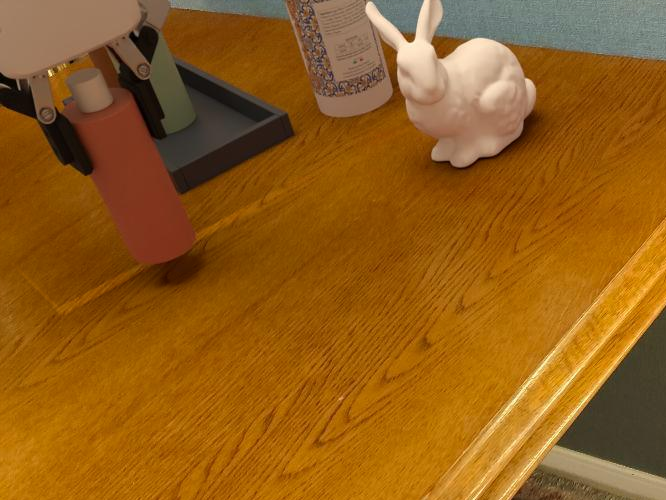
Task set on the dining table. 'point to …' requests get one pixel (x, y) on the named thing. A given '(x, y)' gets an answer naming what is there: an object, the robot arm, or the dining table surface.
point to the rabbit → (459, 89)
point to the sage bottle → (169, 89)
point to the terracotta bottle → (128, 169)
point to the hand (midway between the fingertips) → (117, 148)
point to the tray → (217, 129)
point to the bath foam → (341, 55)
